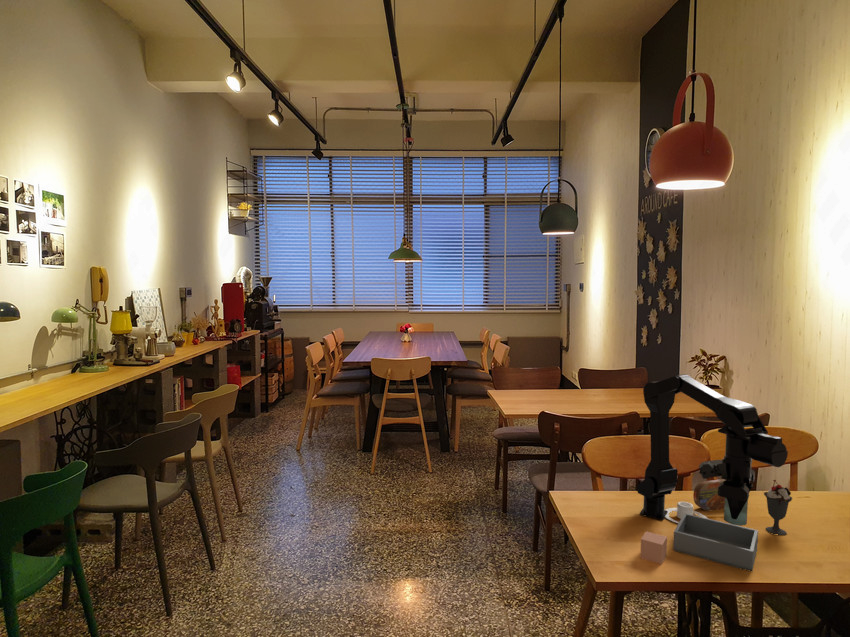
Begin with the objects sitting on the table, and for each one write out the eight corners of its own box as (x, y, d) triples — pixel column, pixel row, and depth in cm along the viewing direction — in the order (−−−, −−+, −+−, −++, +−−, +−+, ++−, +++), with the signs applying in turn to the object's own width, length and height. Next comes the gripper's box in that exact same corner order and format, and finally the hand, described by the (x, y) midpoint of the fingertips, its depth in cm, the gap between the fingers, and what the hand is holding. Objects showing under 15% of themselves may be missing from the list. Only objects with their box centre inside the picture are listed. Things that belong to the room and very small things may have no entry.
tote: (683, 530, 150) (684, 513, 150) (757, 549, 140) (758, 530, 139) (673, 550, 139) (673, 531, 139) (752, 571, 129) (753, 551, 129)
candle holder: (716, 528, 152) (717, 513, 152) (673, 528, 152) (673, 513, 152) (696, 510, 164) (696, 496, 164) (656, 509, 164) (656, 496, 164)
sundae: (762, 534, 148) (765, 480, 147) (760, 524, 154) (763, 472, 153) (791, 539, 145) (794, 484, 144) (788, 529, 151) (791, 476, 150)
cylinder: (725, 514, 140) (726, 488, 139) (747, 519, 137) (749, 493, 136) (722, 521, 136) (723, 494, 135) (745, 527, 133) (747, 499, 132)
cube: (645, 550, 139) (646, 531, 139) (666, 556, 136) (667, 536, 136) (640, 558, 135) (641, 539, 135) (661, 564, 132) (662, 544, 132)
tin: (698, 512, 162) (699, 485, 161) (690, 508, 165) (691, 481, 164) (739, 506, 166) (740, 480, 165) (731, 502, 169) (732, 476, 168)
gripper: (708, 439, 147) (705, 495, 149) (695, 458, 132) (693, 520, 133) (756, 447, 141) (753, 505, 142) (748, 467, 126) (745, 532, 127)
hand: (735, 515), depth 136 cm, fingers closed on cylinder, 5 cm apart
